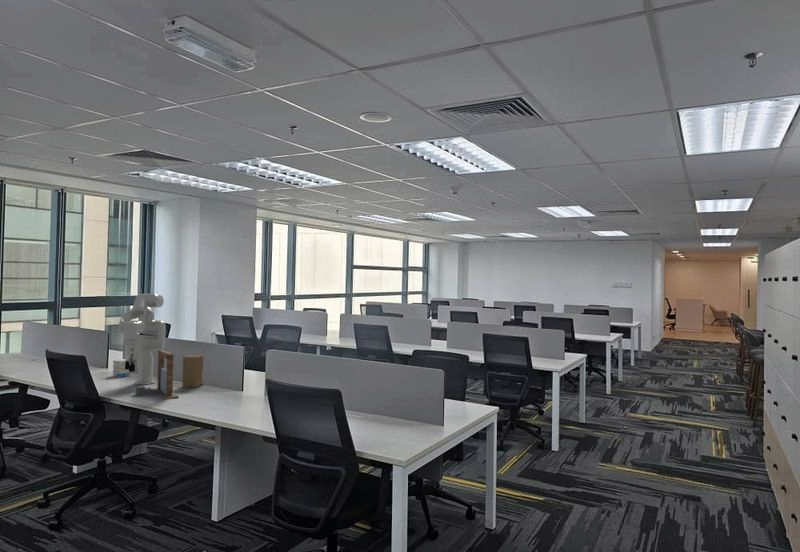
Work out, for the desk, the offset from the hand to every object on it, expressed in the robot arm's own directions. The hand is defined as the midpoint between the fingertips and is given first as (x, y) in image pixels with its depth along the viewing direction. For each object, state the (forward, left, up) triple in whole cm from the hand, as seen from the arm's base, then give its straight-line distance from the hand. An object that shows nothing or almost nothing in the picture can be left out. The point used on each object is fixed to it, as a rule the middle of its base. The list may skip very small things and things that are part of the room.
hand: (129, 370), depth 326 cm
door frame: (+4, +19, -16) cm, 25 cm away
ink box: (-73, +9, -16) cm, 75 cm away
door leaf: (+4, +20, -15) cm, 25 cm away
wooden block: (-12, +41, -16) cm, 46 cm away
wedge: (-1, +10, -16) cm, 19 cm away
